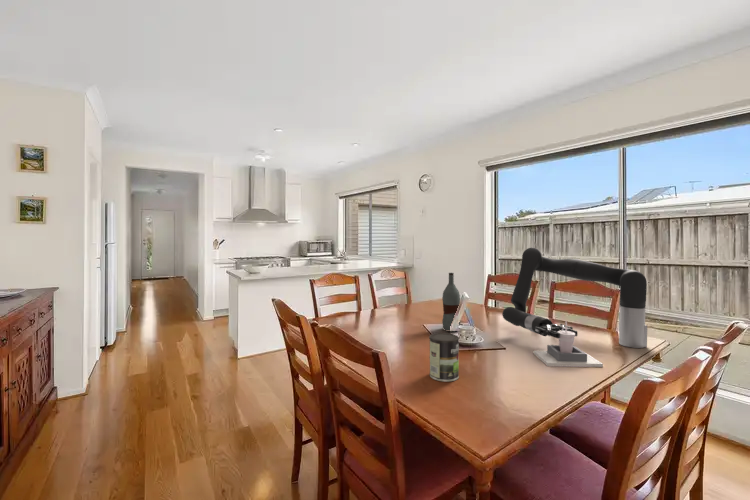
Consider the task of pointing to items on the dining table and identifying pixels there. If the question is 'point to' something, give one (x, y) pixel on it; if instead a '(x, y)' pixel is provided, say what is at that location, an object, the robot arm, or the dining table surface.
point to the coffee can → (444, 357)
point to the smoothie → (566, 340)
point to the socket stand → (566, 357)
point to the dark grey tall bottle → (450, 302)
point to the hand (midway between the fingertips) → (568, 334)
